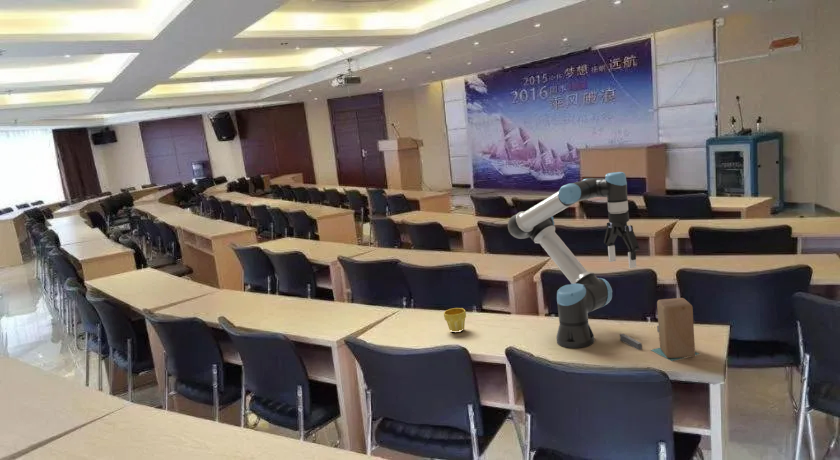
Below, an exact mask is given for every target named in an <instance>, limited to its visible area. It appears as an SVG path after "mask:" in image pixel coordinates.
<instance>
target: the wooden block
mask: <svg viewBox="0 0 840 460" xmlns="http://www.w3.org/2000/svg"><path fill="white" fill-rule="evenodd" d="M656 306H657V308H656V310H657V322H658V325H659V332H658V337H659V348H661V350H662V351H663V353H664V354H665V355H666V357H667V358H682V357H686V358H693V357H695V356H696V355H695V352H696V345H695V330H694V329H695V328H694V312H693V311H694V310H693V309H694V307H693V305H692V304H691V302H689V301H688V300H686V299H685V298H684V297H676V298H663V299H658V300H657V302H656ZM667 358H666V359H667ZM682 359H683V358H682Z"/></svg>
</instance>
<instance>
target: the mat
mask: <svg viewBox="0 0 840 460" xmlns="http://www.w3.org/2000/svg"><path fill="white" fill-rule="evenodd" d="M650 351H651V352H653V353H655V354H657V355H659V356H661V357H663V358H664V359H667V360H669V361H671V362H674V361H678V360H682V359H686V358H687V357H682V358H667V357H666V355H665V354H664V353H663V351H662V350H661V348H660V347H657V348H653V349H650ZM698 355H700V353H699V352H697V351H695V356H698Z"/></svg>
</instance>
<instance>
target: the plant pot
mask: <svg viewBox="0 0 840 460" xmlns="http://www.w3.org/2000/svg"><path fill="white" fill-rule="evenodd" d="M443 317H444V320H445V321H446V324H447V326H448V329H449V331H450V330H452V331H459V330H462V329H464V330H465V322H466V318H467V313H466V310H465V309H464V308H463V307H454V308H449V309H446V310H445V311H444V312H443Z"/></svg>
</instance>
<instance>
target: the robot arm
mask: <svg viewBox="0 0 840 460" xmlns="http://www.w3.org/2000/svg"><path fill="white" fill-rule="evenodd" d="M594 198H606V200H607V211H608V222H607V223H606V230H605V233H604V234H605V235H604V239H603V243H604V244H605V245H606V246H607V254H608V262H609V263H612V262H616V261H617V259H616V258H617V257H616V245H615V242H616V239H617V238H618V236H619V237H620V238H622V240H623V241H624V243H625V245H626V247H627V249H628V251H627V258H628V268H629V269H635V268H637V251H640V248H641V247H639V242H638V241H637V238H636V235H635V232H634V226H633V224H632V225H631V224H630V225H628V222H629V221H630V214H629V213H630V212H629V202H628V201H629V200H628V199H629V197H628V182H627V176H626V173H625V172H623V171H617V172H608V173H605V178H604V177H600V178H598V177H594V178H593V177H589V178H584V179H582V180H581V181H580V180H579V181H576V182H571V183H567V184H564V185H562V186H561V187H560V188H559V190H558V191H556V192H555V193H553V194H551V195H549V196H547V198H545V199H543V200H542V201H540V202H538V203H537V204H535V205H533V206H531V207H530V208H528V209H527V210H525V211H519V212H517V213H516V214H514V215H512V216H511V217H510V218H509V219H508V222H507V229H508V233H509V234H510V235H511V236H512V237H513V238H516V239H520V240H522V239H528V238H530V239H531V240H532V241H533V242H534V244H539V245H540V246H541V247H542V249H544V251H545V252H546V253H547V255H548V256H549V257H550V258H551V260H552V261H553V262H554V264H555V265H556V266H557V267H558V268H559V270H560V271H561V272H562V273H563V275H564V276H565V277H566V278H567V280H568V281H569V282H570V284H565V285H563V286H560V287H559V289H558V290H557V291H556V302H557V311H558V312H557V313H558V322H559V323H558V324H559V325H558V329H557V333H556V343H557V344H558V345H559V346H561V347H564V348H569V349H582V348H587V347H590V346H591V345H593V344H594V343H595V335H594V332H593V331H592V328H591V326H590V324H589V323H590V322H589V315H588V314H589V313H591V312H593V311H595V310H597V309H602V308H603V307H605V306H606V305H609V303H610V302H611V301H612V298H613V289H612V286H611V284H610V283H609V281H608V280H606V279H605V278H602V277H597V276H596V274H595V273H594V272H590V271H587V269H586V268H585V266H583V264H582V262H580V261H579V259H578V258H577V257H576V256H575V254H574V253H573V252H572V251H571V249H570V248H569V247H568V246H567V245H566V244H565V242H564V241H563V240H562V238H561V237H560V236H559V235H558V234H557V233H556V225H555V221H554V216H555V215H556V214H558V213H560V212H562V211H564V210H565V209H568V208H569V207H570V206H573V205H575V204H576V203H579V202H581V201H585V200H588V199H589V200H590V199H594Z"/></svg>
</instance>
